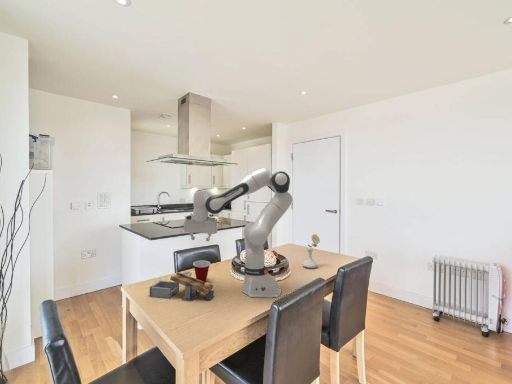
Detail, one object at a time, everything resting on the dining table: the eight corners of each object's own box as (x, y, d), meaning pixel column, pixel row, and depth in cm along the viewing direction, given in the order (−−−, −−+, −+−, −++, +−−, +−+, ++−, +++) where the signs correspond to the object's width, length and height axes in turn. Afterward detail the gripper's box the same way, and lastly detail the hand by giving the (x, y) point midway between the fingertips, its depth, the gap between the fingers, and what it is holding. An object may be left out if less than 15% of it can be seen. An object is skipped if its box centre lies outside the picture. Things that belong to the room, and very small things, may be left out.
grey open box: (178, 290, 145) (179, 282, 145) (169, 298, 136) (169, 289, 135) (159, 289, 148) (159, 280, 148) (149, 296, 138) (149, 287, 138)
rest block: (213, 296, 139) (213, 290, 139) (210, 300, 134) (210, 294, 134) (209, 296, 139) (209, 290, 139) (206, 300, 134) (206, 294, 134)
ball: (210, 287, 138) (211, 282, 138) (208, 290, 135) (209, 284, 135) (204, 286, 139) (205, 280, 139) (202, 288, 136) (203, 282, 135)
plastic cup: (197, 286, 152) (197, 266, 152) (190, 281, 161) (190, 262, 161) (213, 282, 159) (213, 263, 158) (205, 277, 167) (205, 259, 167)
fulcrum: (200, 292, 143) (200, 279, 143) (192, 301, 133) (192, 287, 132) (190, 291, 145) (190, 278, 144) (181, 300, 134) (181, 286, 134)
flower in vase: (306, 270, 185) (306, 235, 184) (299, 265, 196) (300, 232, 195) (322, 268, 188) (323, 235, 187) (315, 264, 199) (315, 232, 199)
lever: (216, 284, 147) (217, 280, 147) (207, 294, 133) (208, 289, 133) (182, 271, 151) (183, 267, 151) (169, 280, 137) (170, 275, 137)
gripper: (219, 217, 150) (219, 240, 150) (187, 215, 154) (187, 238, 155) (215, 218, 143) (214, 242, 144) (182, 216, 148) (182, 240, 149)
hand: (200, 240), depth 149 cm, fingers open, 8 cm apart
